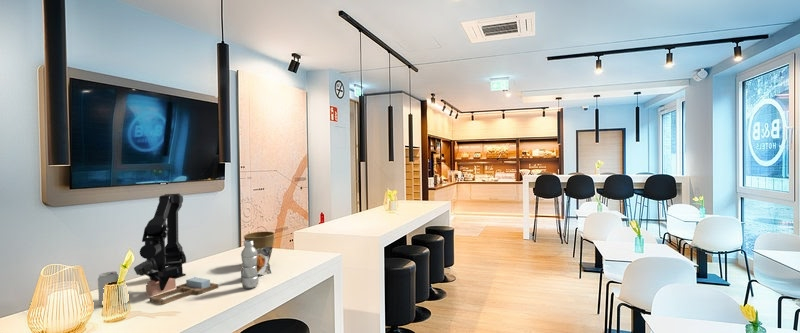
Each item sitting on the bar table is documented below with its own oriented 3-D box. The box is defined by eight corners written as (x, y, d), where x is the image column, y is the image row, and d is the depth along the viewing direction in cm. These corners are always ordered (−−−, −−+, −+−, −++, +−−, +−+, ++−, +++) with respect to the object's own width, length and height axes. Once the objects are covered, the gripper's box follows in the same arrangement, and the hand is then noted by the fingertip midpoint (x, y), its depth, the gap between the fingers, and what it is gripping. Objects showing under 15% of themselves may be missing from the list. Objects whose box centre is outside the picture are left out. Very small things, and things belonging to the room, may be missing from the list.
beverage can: (108, 307, 143) (106, 276, 143) (94, 306, 144) (93, 275, 144) (124, 301, 149) (122, 271, 149) (110, 300, 151) (109, 270, 150)
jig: (145, 300, 150) (145, 296, 149) (196, 283, 169) (196, 279, 169) (167, 305, 143) (167, 302, 142) (218, 287, 162) (218, 284, 162)
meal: (247, 283, 166) (246, 254, 166) (241, 282, 168) (239, 253, 168) (273, 273, 179) (272, 246, 179) (267, 272, 181) (266, 245, 181)
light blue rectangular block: (186, 289, 162) (186, 279, 162) (195, 286, 166) (194, 277, 165) (201, 292, 157) (201, 282, 157) (210, 288, 161) (210, 279, 161)
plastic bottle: (244, 285, 163) (242, 239, 163) (260, 284, 164) (258, 239, 163) (239, 290, 157) (237, 243, 156) (256, 289, 157) (254, 242, 157)
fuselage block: (146, 294, 156) (145, 281, 156) (169, 286, 165) (169, 274, 165) (152, 295, 154) (151, 282, 154) (175, 287, 163) (175, 275, 163)
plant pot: (239, 266, 193) (237, 235, 192) (263, 259, 205) (262, 230, 205) (257, 270, 185) (256, 238, 185) (281, 262, 198) (280, 232, 197)
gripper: (124, 255, 155) (126, 292, 156) (150, 259, 147) (152, 299, 147) (152, 249, 165) (154, 284, 166) (178, 253, 157) (179, 290, 157)
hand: (159, 289), depth 159 cm, fingers closed on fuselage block, 4 cm apart
